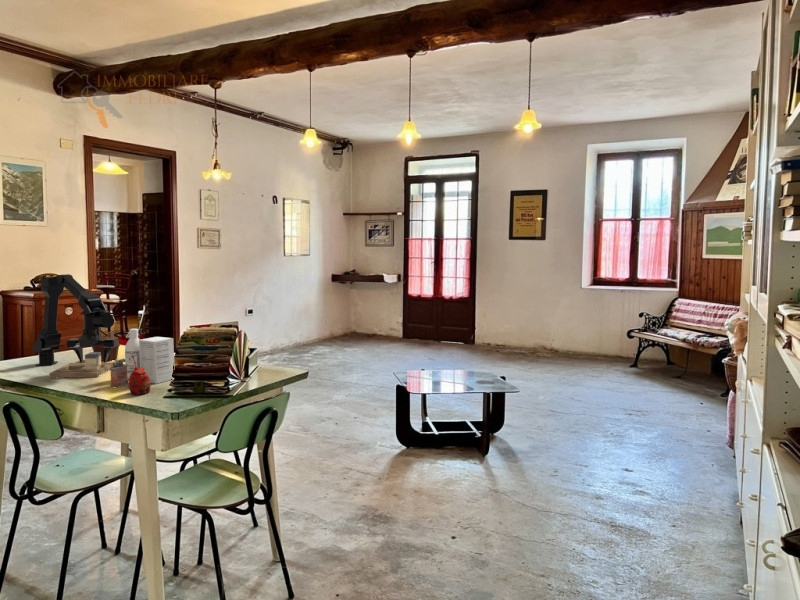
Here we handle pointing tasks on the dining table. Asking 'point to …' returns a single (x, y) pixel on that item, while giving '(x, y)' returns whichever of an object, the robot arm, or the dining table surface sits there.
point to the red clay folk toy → (139, 380)
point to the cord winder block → (93, 361)
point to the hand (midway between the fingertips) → (93, 362)
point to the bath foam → (132, 348)
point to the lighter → (119, 373)
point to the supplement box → (157, 358)
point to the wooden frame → (80, 370)
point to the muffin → (112, 354)
